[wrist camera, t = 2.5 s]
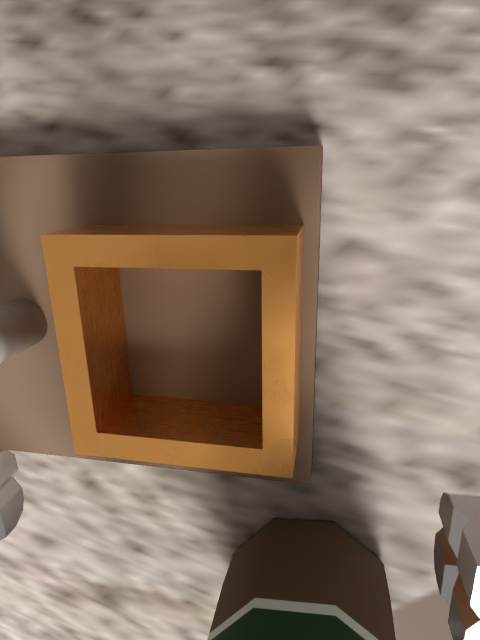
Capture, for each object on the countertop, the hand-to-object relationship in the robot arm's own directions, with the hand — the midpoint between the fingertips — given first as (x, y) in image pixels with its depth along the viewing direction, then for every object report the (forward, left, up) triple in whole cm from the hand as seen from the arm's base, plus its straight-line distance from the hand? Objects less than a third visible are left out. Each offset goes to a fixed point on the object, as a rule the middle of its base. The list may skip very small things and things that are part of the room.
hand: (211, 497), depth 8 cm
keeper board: (+6, 0, -10) cm, 12 cm away
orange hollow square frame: (+3, 0, -9) cm, 9 cm away
